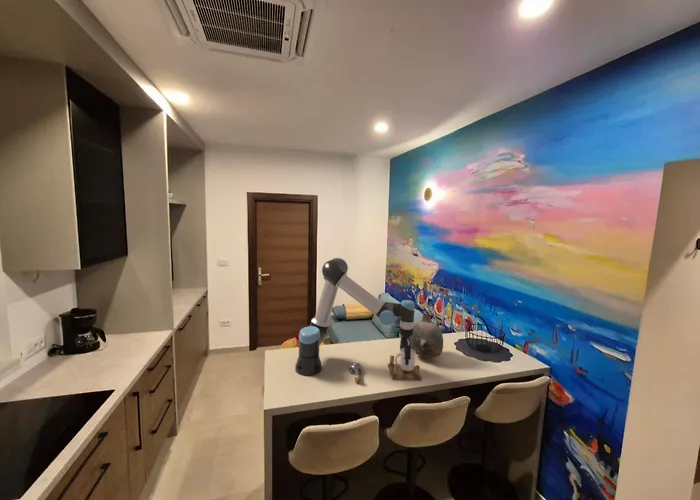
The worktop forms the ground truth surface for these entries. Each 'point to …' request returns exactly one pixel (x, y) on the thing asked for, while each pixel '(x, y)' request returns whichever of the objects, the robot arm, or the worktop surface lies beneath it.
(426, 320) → the jug
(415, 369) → the peg rest
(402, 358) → the mug
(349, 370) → the nut washer
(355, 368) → the grey metal tool
